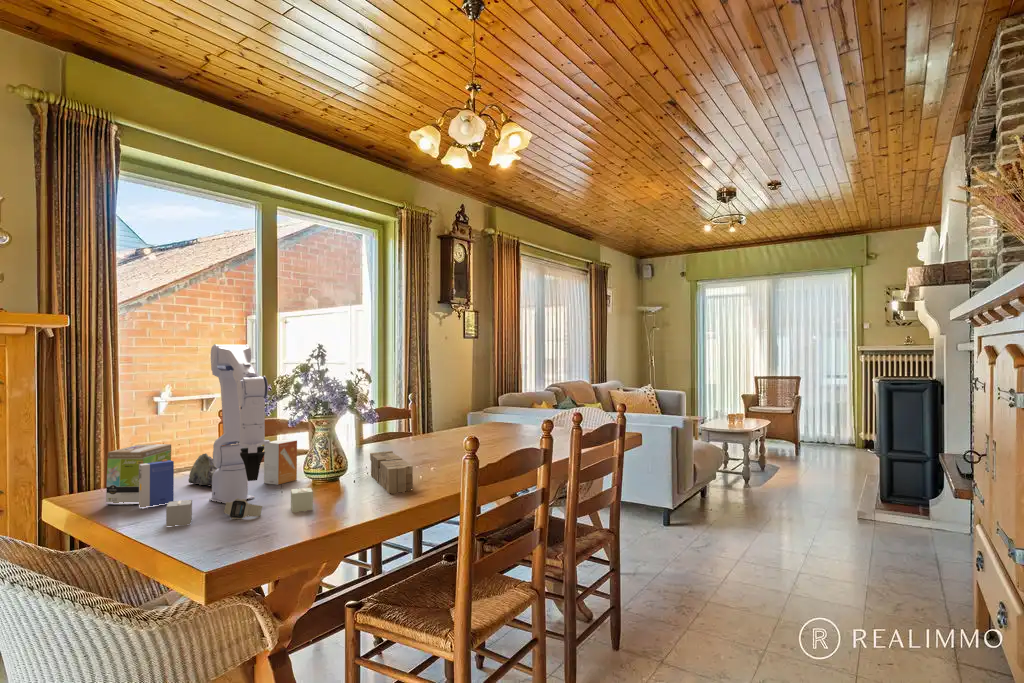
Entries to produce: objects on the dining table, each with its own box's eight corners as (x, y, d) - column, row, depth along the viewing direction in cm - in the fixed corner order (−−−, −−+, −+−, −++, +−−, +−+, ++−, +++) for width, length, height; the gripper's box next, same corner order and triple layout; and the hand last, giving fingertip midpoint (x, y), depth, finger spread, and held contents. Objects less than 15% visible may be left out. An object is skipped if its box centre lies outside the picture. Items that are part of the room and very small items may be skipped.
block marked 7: (290, 508, 152) (290, 488, 153) (310, 506, 155) (310, 486, 155) (292, 513, 148) (292, 492, 148) (312, 510, 150) (312, 490, 150)
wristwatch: (218, 520, 142) (219, 499, 142) (232, 513, 149) (232, 493, 149) (254, 520, 142) (254, 500, 142) (267, 513, 148) (267, 493, 148)
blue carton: (169, 502, 160) (170, 458, 160) (173, 503, 158) (173, 459, 158) (137, 508, 154) (137, 463, 154) (140, 509, 152) (141, 464, 152)
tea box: (143, 505, 156) (144, 451, 157) (104, 506, 156) (105, 451, 156) (171, 492, 171) (172, 442, 172) (136, 493, 170) (136, 443, 171)
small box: (278, 485, 180) (278, 443, 180) (263, 483, 182) (263, 442, 182) (297, 480, 187) (297, 439, 187) (282, 478, 189) (282, 438, 190)
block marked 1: (168, 522, 140) (168, 501, 140) (191, 519, 142) (192, 498, 143) (166, 527, 136) (166, 505, 136) (190, 525, 138) (190, 503, 138)
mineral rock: (221, 489, 175) (221, 456, 175) (181, 492, 171) (182, 458, 172) (227, 480, 187) (227, 449, 187) (189, 483, 184) (190, 451, 184)
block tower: (414, 495, 170) (393, 473, 197) (414, 466, 170) (393, 449, 197) (387, 498, 167) (369, 475, 194) (387, 469, 167) (370, 450, 194)
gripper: (270, 425, 141) (270, 481, 141) (268, 420, 154) (268, 471, 154) (238, 427, 138) (238, 484, 138) (239, 422, 152) (239, 473, 151)
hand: (252, 477), depth 146 cm, fingers open, 7 cm apart
